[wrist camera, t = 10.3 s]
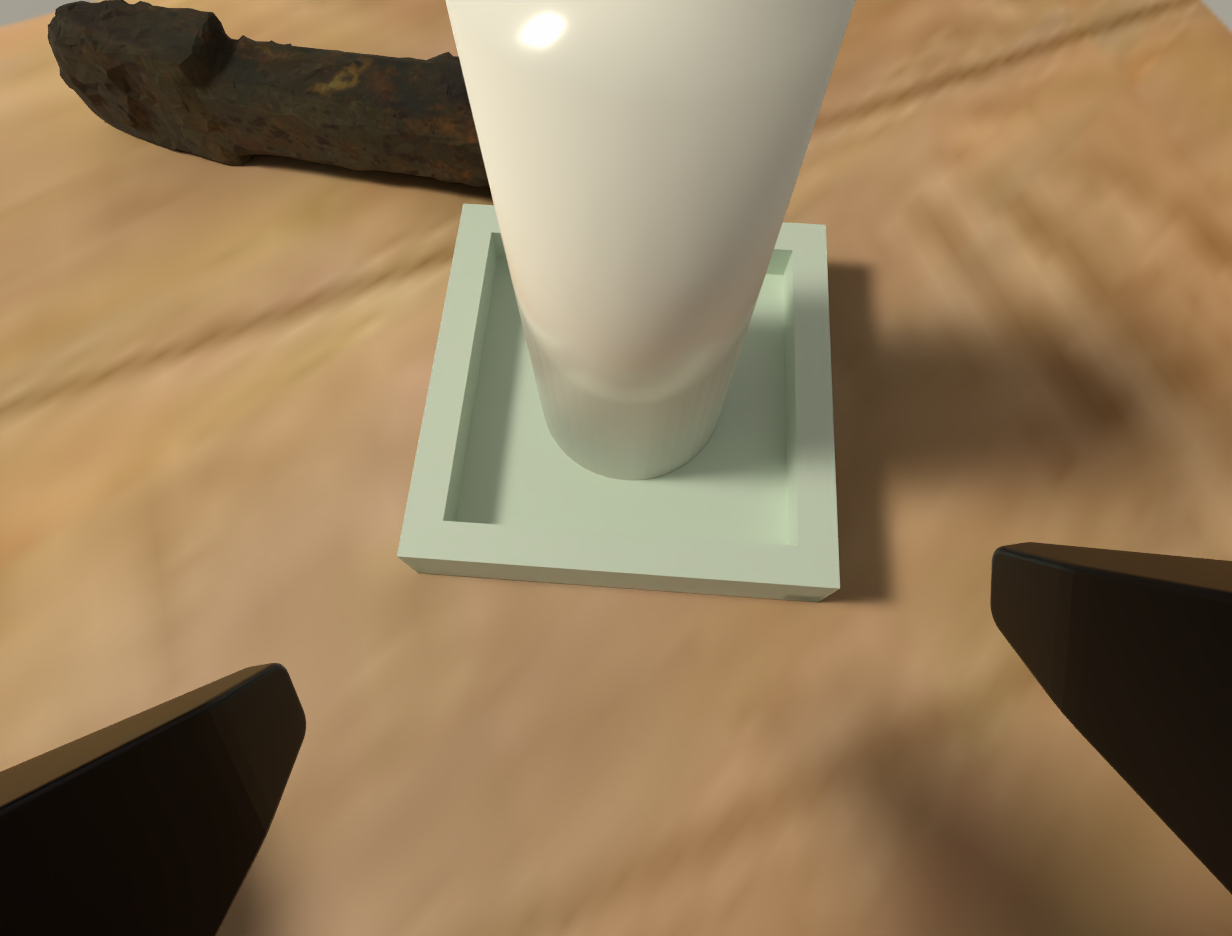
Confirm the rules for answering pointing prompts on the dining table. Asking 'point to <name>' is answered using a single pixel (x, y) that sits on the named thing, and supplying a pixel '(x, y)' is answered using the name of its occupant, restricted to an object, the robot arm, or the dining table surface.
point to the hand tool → (265, 94)
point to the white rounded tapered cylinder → (641, 197)
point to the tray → (629, 509)
